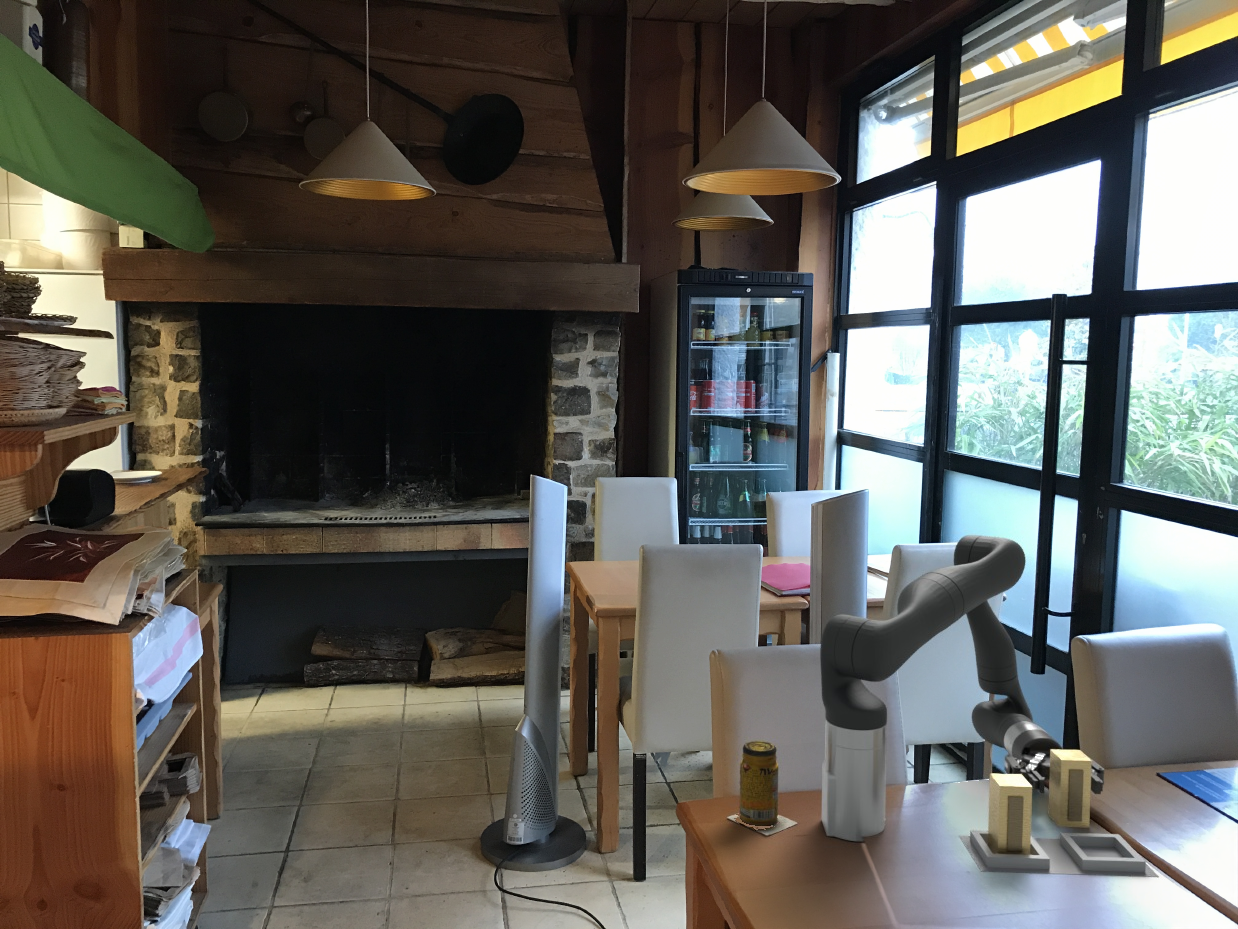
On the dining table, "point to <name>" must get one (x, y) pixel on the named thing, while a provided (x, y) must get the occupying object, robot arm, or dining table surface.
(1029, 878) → the dining table surface
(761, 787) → the condiment
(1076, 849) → the grey double socket tray
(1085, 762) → the block
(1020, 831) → the block
